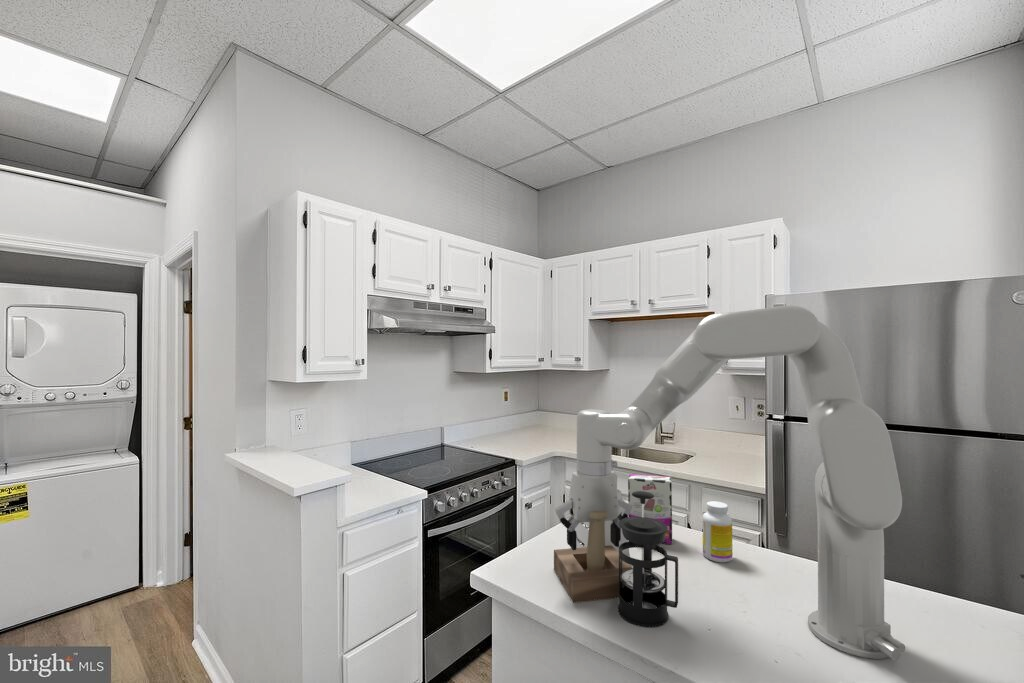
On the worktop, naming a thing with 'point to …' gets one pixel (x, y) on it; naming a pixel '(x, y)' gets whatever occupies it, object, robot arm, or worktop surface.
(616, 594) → the socket block
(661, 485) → the candy bar box
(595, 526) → the handle
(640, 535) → the french press
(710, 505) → the supplement bottle
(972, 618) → the worktop surface
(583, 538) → the grater
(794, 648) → the worktop surface
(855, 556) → the robot arm
